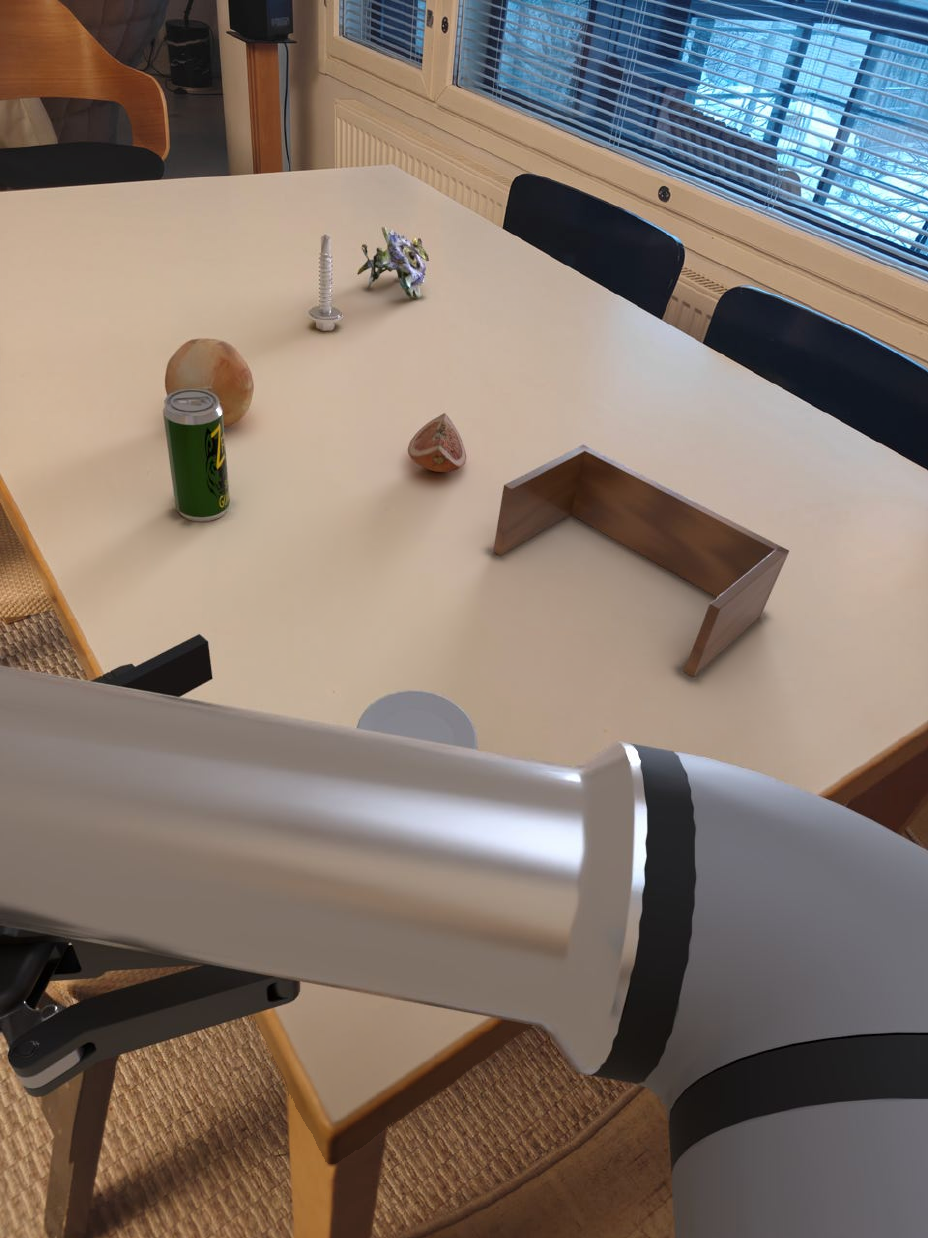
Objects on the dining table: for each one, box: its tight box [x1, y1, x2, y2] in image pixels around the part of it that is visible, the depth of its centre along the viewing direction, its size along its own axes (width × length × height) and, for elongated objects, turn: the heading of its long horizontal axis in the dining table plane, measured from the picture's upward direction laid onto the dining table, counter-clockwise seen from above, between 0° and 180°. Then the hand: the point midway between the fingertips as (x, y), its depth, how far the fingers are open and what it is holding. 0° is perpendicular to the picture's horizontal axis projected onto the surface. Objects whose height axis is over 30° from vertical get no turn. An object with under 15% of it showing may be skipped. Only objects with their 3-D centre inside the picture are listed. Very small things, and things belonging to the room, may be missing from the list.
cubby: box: [492, 444, 790, 678], centre depth 84 cm, size 24×13×8 cm, turn 47°
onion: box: [164, 337, 255, 427], centre depth 98 cm, size 10×10×10 cm
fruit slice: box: [407, 412, 467, 473], centre depth 97 cm, size 8×7×5 cm
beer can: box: [162, 389, 231, 523], centre depth 84 cm, size 5×5×12 cm
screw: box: [307, 234, 343, 332], centre depth 121 cm, size 13×5×5 cm
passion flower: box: [356, 226, 430, 299], centre depth 136 cm, size 11×11×12 cm
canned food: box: [356, 689, 478, 750], centre depth 56 cm, size 8×8×11 cm
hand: (289, 729), depth 42 cm, fingers open, 13 cm apart
